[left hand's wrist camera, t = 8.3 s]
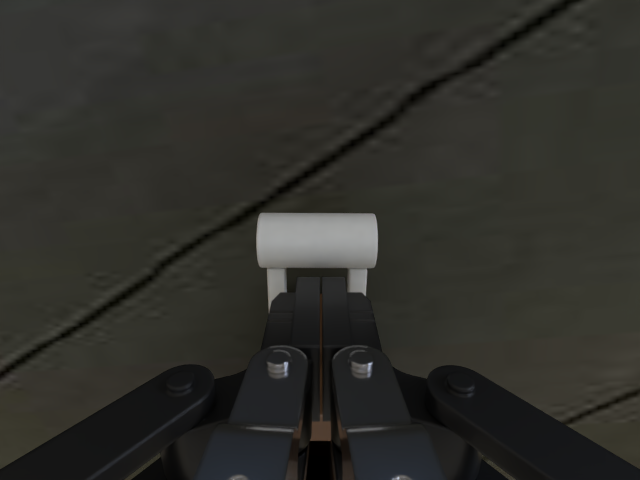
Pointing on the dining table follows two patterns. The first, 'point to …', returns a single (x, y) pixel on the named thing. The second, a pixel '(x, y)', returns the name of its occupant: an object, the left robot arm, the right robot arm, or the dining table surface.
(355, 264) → the drawer
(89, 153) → the dining table surface
